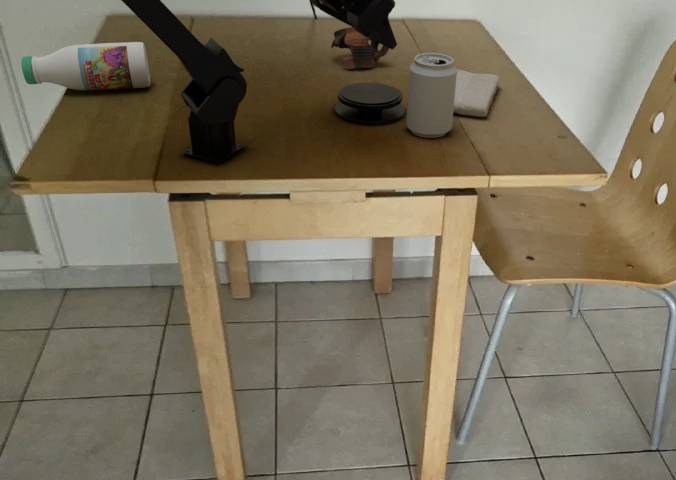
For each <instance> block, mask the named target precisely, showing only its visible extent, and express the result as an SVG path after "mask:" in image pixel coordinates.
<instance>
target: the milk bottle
mask: <svg viewBox="0 0 676 480" xmlns="http://www.w3.org/2000/svg"><path fill="white" fill-rule="evenodd" d="M21 70H22V75H23V79H24V80H25V83H26V84H28V85H38V84H40V85H41V84H42V83H49V84H54V85H58V86H61V87H64V88H67V89H70V90H75V91H107V90H108V91H109V90H126V89H128V90H129V89H142V88H143V89H145V88H149V87H151V75H150V66H149V60H148V53H147V49H146V45H145V43H144V42H141V41H128V42H126V41H125V42H124V41H123V42H105V43H104V42H103V43H101V42H100V43H84V44H73V45H68V46H65V47H62V48H60V49H58V50H56V51H54V52H52V53H50V54H47V55H43V56H36V55H34V56H33V55H26V56H25V55H24V56H22V57H21Z"/></svg>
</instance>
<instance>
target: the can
mask: <svg viewBox="0 0 676 480" xmlns="http://www.w3.org/2000/svg"><path fill="white" fill-rule="evenodd" d="M413 60H414V61H413V62H412V63H411V64H410V65H409V71H408V72H409V73H408V75H409V76H408V91H407V107H406V108H407V109H406V127H407V129H408V130H409V131H411V133H412V134H414V135H415V136H418V137H422V138H426V139H427V138H429V139H432V138H433V139H435V138H441V137H443V136H445V135H446V134H447V133H449V132H450V131H451V130H452V129H453V119H454V113H453V110H454V99H455V88H456V77H457V70H458V68H457V67H456V66H455V65H454V62H455V59H454V58H453V57H451V56H450V55H447V54H444V53H440V52H439V53H438V52H423V53H419V54H416V55H415V56H414V57H413Z"/></svg>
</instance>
